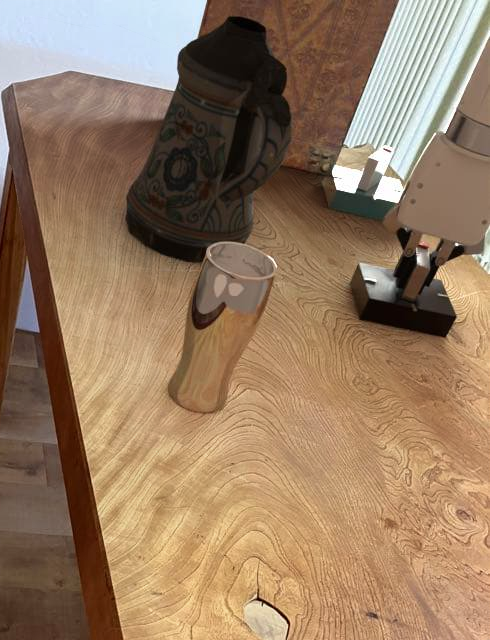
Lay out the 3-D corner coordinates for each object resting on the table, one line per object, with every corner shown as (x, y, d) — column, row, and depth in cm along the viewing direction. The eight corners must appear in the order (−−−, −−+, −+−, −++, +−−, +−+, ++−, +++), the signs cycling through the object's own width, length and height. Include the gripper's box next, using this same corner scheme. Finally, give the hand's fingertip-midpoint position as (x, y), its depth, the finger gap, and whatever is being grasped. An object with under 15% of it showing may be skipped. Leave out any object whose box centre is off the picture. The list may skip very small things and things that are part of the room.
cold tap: (366, 191, 129) (379, 159, 126) (356, 187, 130) (369, 154, 126) (381, 180, 133) (394, 148, 130) (371, 176, 134) (384, 144, 131)
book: (172, 138, 138) (229, -92, 117) (176, 118, 145) (231, -104, 124) (331, 177, 139) (416, -45, 118) (328, 155, 145) (408, -59, 124)
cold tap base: (329, 211, 129) (338, 190, 127) (321, 181, 137) (329, 160, 135) (402, 227, 130) (411, 206, 128) (389, 196, 138) (398, 176, 136)
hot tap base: (360, 323, 107) (370, 300, 105) (348, 280, 115) (358, 257, 113) (447, 341, 108) (459, 319, 106) (429, 297, 116) (440, 275, 114)
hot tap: (413, 302, 107) (431, 266, 104) (400, 298, 107) (418, 262, 104) (412, 278, 112) (429, 243, 108) (400, 274, 112) (417, 239, 108)
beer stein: (162, 191, 124) (213, -12, 106) (285, 249, 118) (360, 44, 100) (97, 224, 113) (142, 4, 95) (229, 290, 107) (302, 69, 90)
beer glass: (229, 382, 93) (277, 249, 83) (230, 422, 88) (281, 286, 78) (164, 368, 93) (204, 233, 82) (161, 407, 88) (204, 269, 77)
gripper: (548, 143, 99) (468, 291, 112) (410, 103, 99) (346, 255, 112) (557, 167, 93) (472, 319, 106) (411, 125, 94) (344, 281, 107)
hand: (408, 285), depth 109 cm, fingers closed on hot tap
